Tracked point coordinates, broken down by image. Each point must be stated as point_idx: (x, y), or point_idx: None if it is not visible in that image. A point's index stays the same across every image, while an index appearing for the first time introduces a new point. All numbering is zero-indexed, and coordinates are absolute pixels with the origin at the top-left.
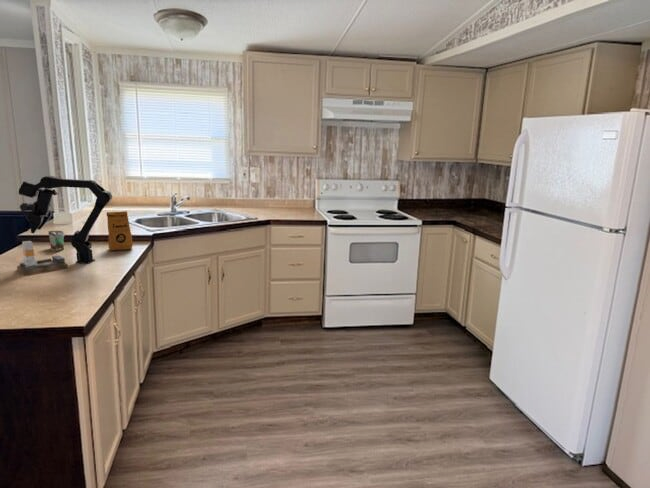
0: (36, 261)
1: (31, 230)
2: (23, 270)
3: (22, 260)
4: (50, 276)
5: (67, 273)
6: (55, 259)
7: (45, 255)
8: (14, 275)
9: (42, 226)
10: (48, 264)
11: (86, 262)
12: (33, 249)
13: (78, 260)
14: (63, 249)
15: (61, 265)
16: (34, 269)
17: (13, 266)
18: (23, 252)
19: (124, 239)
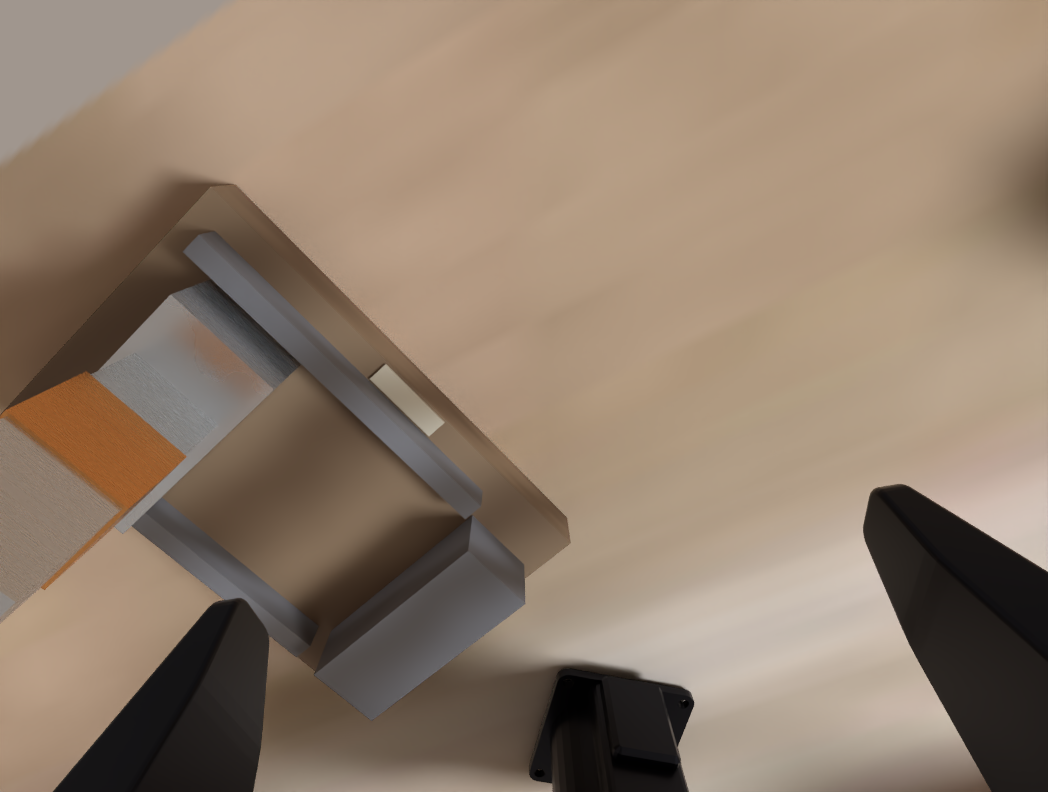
0: (117, 529)
1: (159, 688)
2: (22, 394)
3: (175, 293)
4: (63, 648)
5: None
6: (377, 614)
7: (992, 164)
8: (7, 287)
9: (948, 679)
10: (223, 594)
11: (541, 768)
12: (44, 588)
13: (590, 697)
14: None
15: (314, 665)
16: None
17: (389, 27)
18: (42, 397)
19: None
